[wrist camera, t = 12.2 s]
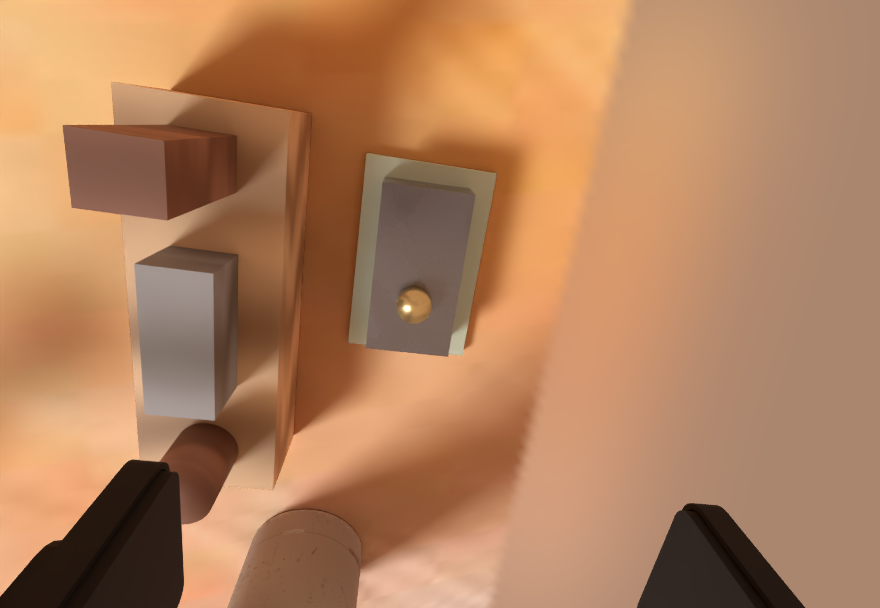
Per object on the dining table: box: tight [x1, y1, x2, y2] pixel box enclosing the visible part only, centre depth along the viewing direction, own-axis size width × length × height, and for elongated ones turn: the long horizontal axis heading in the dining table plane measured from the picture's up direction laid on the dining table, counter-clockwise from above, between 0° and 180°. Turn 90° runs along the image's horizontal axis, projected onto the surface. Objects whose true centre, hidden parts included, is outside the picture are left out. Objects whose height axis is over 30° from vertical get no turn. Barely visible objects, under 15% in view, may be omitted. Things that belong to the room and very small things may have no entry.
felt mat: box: [348, 153, 497, 356], centre depth 27 cm, size 11×7×1 cm, turn 171°
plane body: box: [63, 82, 312, 524], centre depth 22 cm, size 20×7×11 cm, turn 171°
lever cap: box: [366, 176, 476, 357], centre depth 26 cm, size 9×5×3 cm, turn 172°
